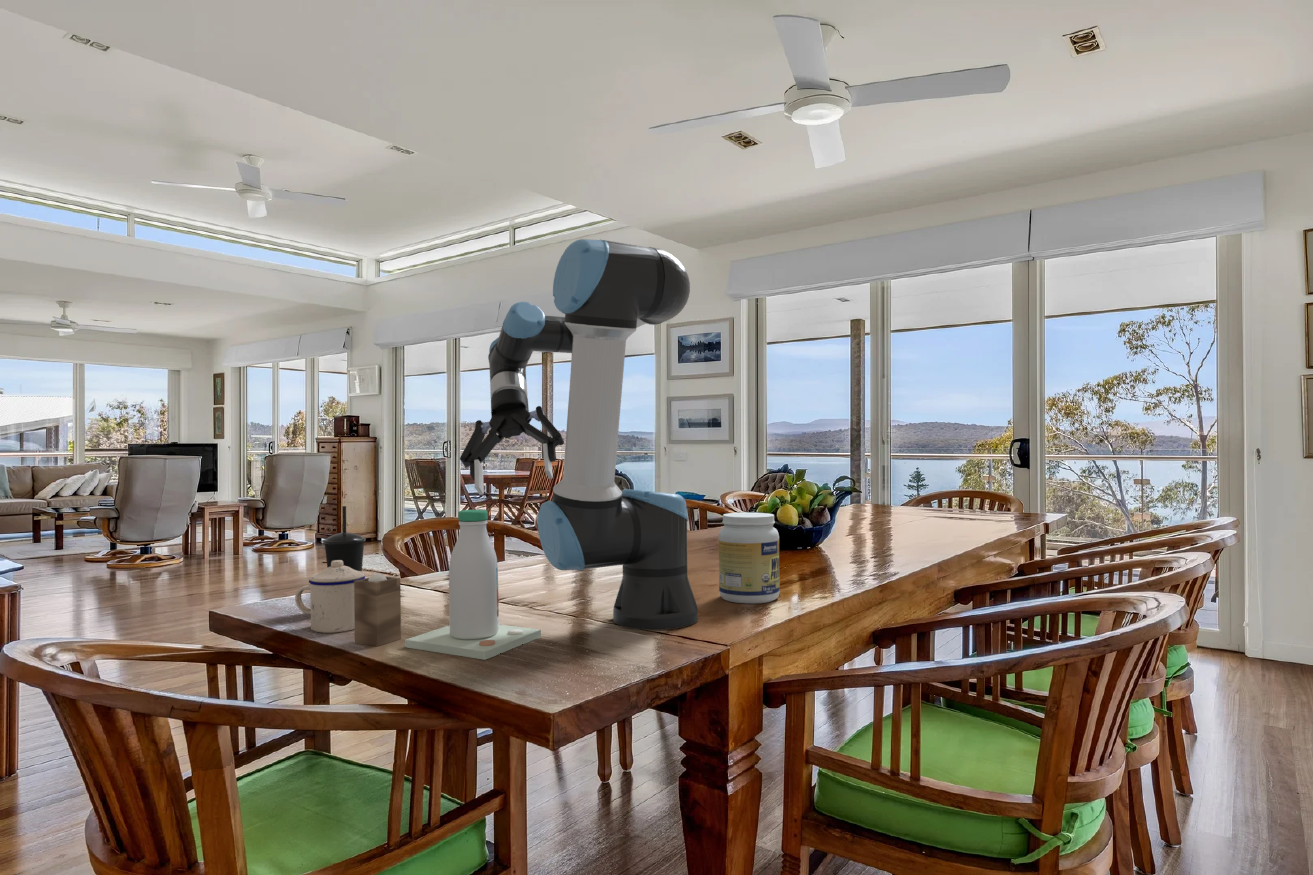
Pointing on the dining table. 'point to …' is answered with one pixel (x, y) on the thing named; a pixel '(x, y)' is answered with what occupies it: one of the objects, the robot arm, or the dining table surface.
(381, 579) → the cream ball
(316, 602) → the teacup with lid
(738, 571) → the supplement tub
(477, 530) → the milk bottle
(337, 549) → the drinking cup
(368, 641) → the walnut tube
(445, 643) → the card
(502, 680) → the dining table surface
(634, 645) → the dining table surface
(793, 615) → the dining table surface
